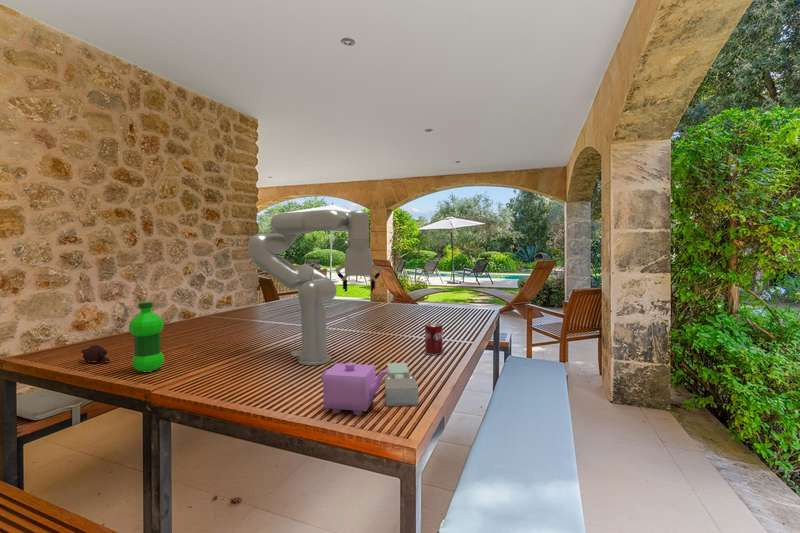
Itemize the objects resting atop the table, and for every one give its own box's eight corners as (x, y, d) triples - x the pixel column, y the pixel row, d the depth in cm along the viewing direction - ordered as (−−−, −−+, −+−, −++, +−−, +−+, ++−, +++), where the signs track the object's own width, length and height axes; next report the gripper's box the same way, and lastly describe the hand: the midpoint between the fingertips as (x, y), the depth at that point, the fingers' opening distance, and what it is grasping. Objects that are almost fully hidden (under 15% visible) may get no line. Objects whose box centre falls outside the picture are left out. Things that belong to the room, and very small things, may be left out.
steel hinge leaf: (386, 406, 108) (386, 388, 108) (384, 389, 120) (384, 373, 120) (418, 405, 109) (418, 387, 108) (413, 388, 121) (413, 373, 121)
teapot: (314, 413, 104) (313, 367, 103) (328, 398, 114) (327, 356, 113) (387, 418, 100) (386, 371, 100) (394, 403, 110) (394, 359, 110)
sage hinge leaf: (389, 394, 117) (389, 377, 117) (387, 377, 131) (387, 363, 131) (410, 393, 117) (410, 377, 117) (406, 377, 132) (406, 362, 131)
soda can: (444, 351, 162) (444, 323, 162) (440, 356, 156) (440, 326, 155) (427, 350, 165) (427, 322, 164) (423, 354, 158) (422, 325, 157)
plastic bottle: (157, 364, 148) (154, 300, 147) (170, 369, 142) (167, 302, 141) (127, 371, 140) (123, 303, 138) (139, 377, 134) (136, 305, 132)
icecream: (68, 347, 150) (95, 354, 145) (89, 338, 157) (114, 344, 152) (73, 363, 152) (100, 370, 147) (93, 353, 159) (119, 360, 154)
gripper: (333, 244, 137) (334, 292, 138) (382, 244, 138) (382, 292, 139) (335, 244, 145) (336, 290, 146) (382, 244, 146) (382, 289, 147)
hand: (359, 291), depth 142 cm, fingers open, 9 cm apart
